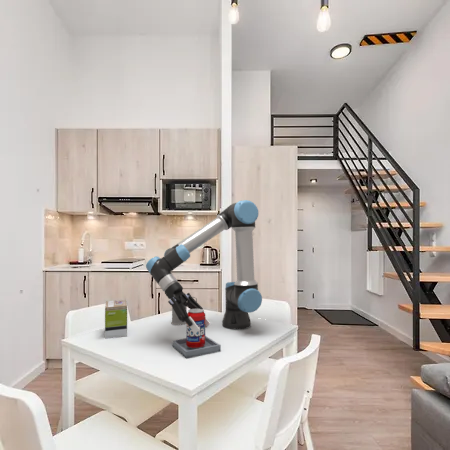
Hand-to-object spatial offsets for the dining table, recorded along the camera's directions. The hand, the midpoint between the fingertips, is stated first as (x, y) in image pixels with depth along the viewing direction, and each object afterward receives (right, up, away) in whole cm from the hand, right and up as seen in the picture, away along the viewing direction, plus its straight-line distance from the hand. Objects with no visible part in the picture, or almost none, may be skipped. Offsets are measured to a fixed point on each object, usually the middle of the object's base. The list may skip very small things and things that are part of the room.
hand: (203, 328), depth 123 cm
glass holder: (-13, -11, +41) cm, 45 cm away
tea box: (-44, -10, +22) cm, 50 cm away
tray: (-3, -9, +1) cm, 9 cm away
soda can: (-3, -8, +1) cm, 9 cm away
